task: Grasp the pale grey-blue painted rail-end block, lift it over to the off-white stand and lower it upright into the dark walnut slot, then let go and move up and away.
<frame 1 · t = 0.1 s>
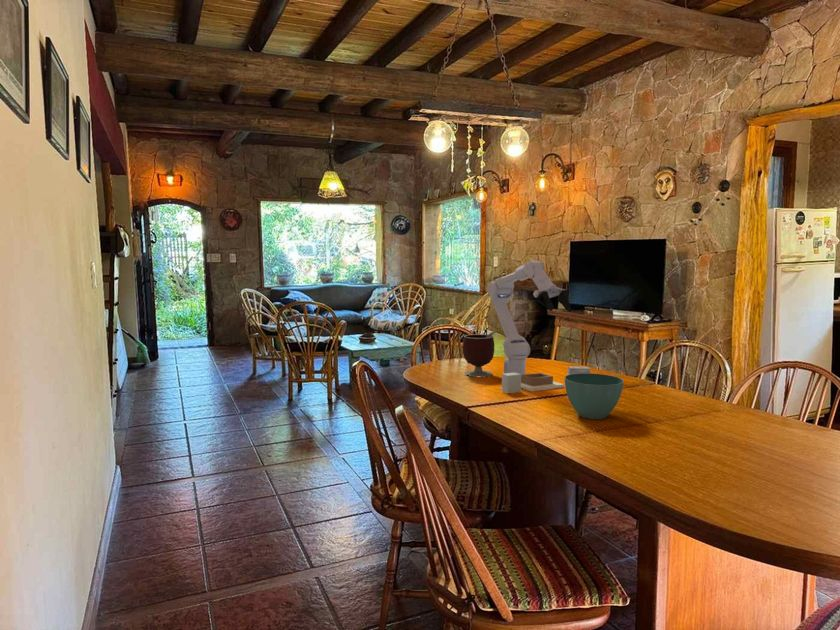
hand: (560, 308, 215), 32 cm above the table, tool tilted 50°, fingers open, 7 cm apart
teal bowl: (592, 416, 185), on the table
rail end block: (511, 392, 219), on the table
slot stand: (536, 385, 229), on the table
mate gourd: (480, 375, 253), on the table
medicine box: (578, 389, 223), on the table
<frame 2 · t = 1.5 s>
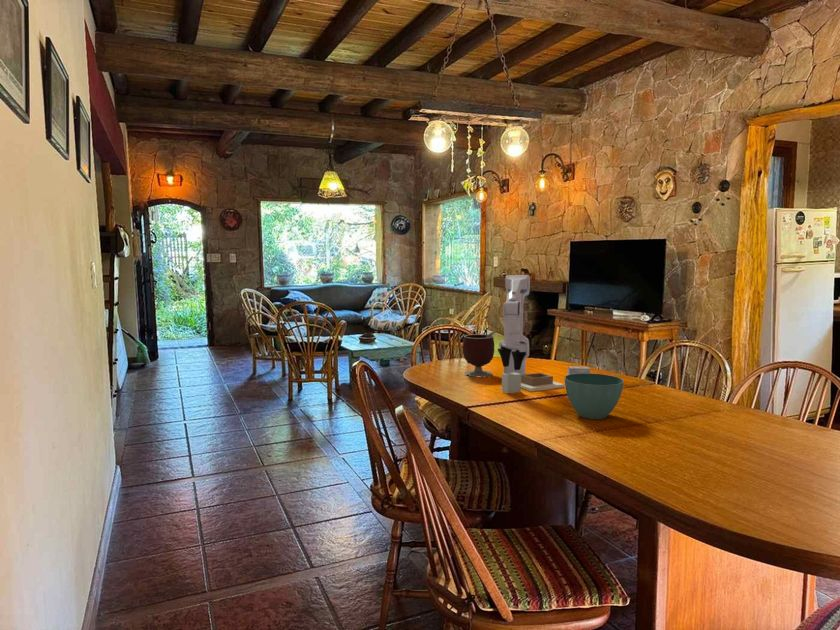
hand: (511, 368, 218), 9 cm above the table, tool pointing down, fingers open, 7 cm apart
nothing on the table moved.
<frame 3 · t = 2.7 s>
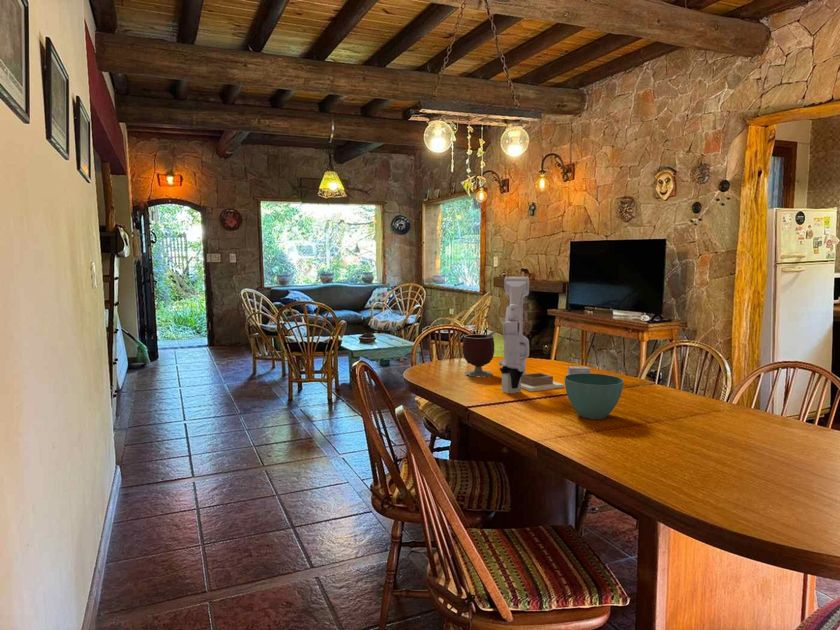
hand: (511, 386, 219), 2 cm above the table, tool pointing down, fingers closed on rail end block, 4 cm apart
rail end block: (511, 391, 219), on the table, touching gripper
everything else where it was.
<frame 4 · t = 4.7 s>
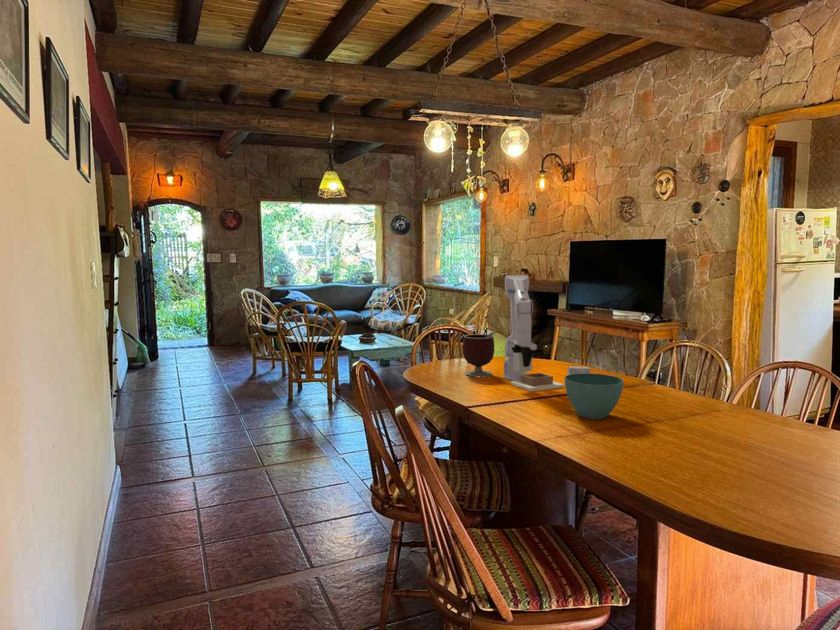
hand: (523, 365, 223), 9 cm above the table, tool pointing down, fingers closed on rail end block, 4 cm apart
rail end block: (522, 370, 223), point 7 cm above the table, touching gripper
everything else where it was.
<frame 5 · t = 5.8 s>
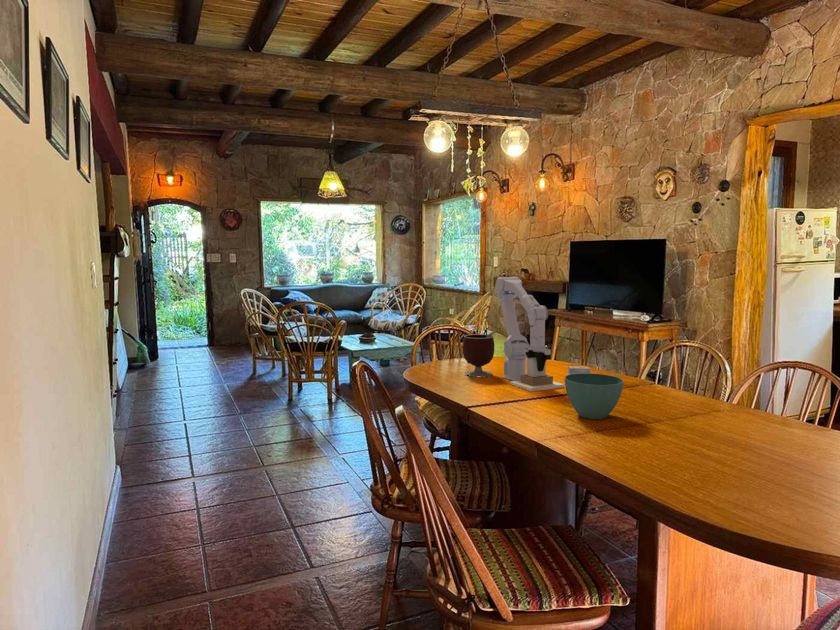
hand: (536, 370, 229), 6 cm above the table, tool pointing down, fingers closed on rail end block, 4 cm apart
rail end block: (536, 375, 229), point 4 cm above the table, touching gripper
everything else where it was.
when the fingers open (5 cm above the table, at t = 6.8 s): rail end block drops 2 cm, resting on slot stand.
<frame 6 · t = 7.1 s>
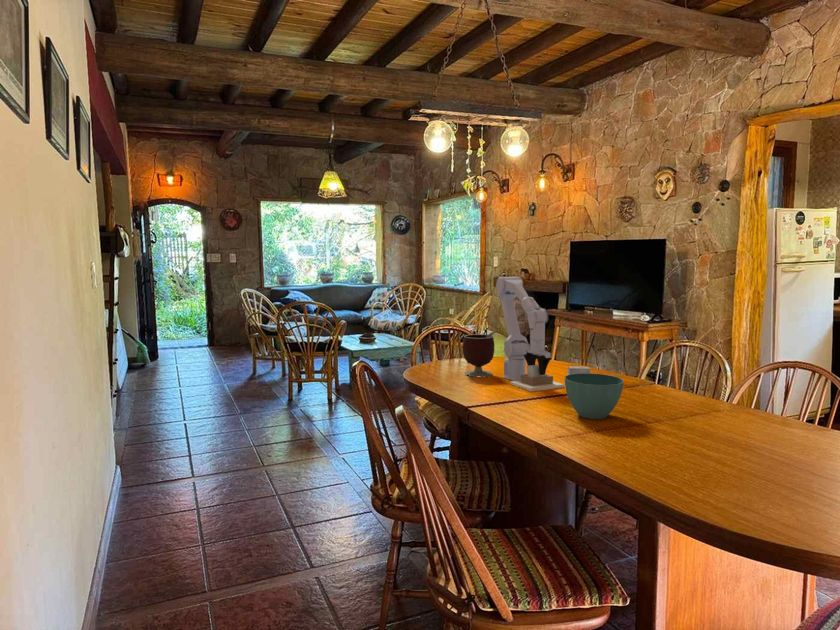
hand: (536, 373, 229), 5 cm above the table, tool pointing down, fingers open, 6 cm apart
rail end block: (536, 383, 229), point 1 cm above the table, touching slot stand
everything else where it was.
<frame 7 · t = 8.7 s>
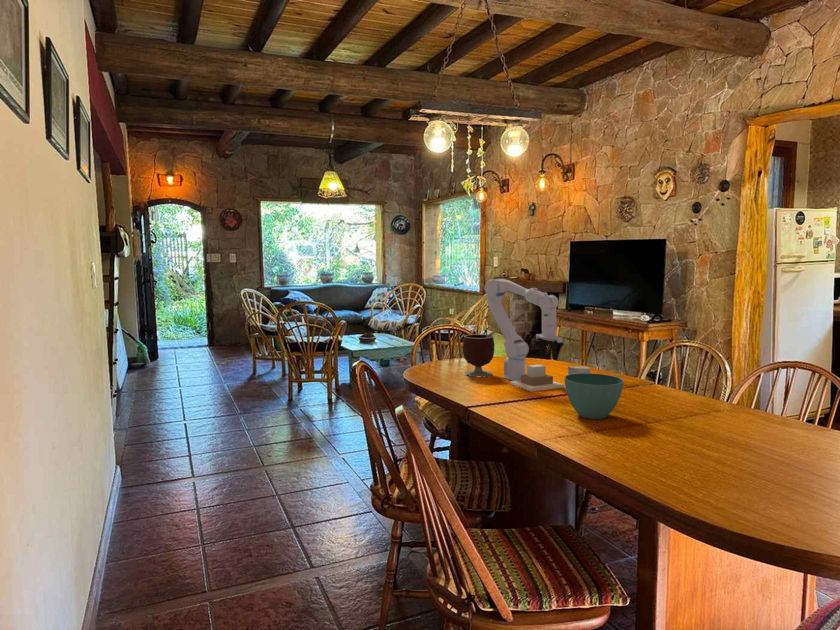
hand: (549, 358, 233), 10 cm above the table, tool pointing down, fingers open, 7 cm apart
nothing on the table moved.
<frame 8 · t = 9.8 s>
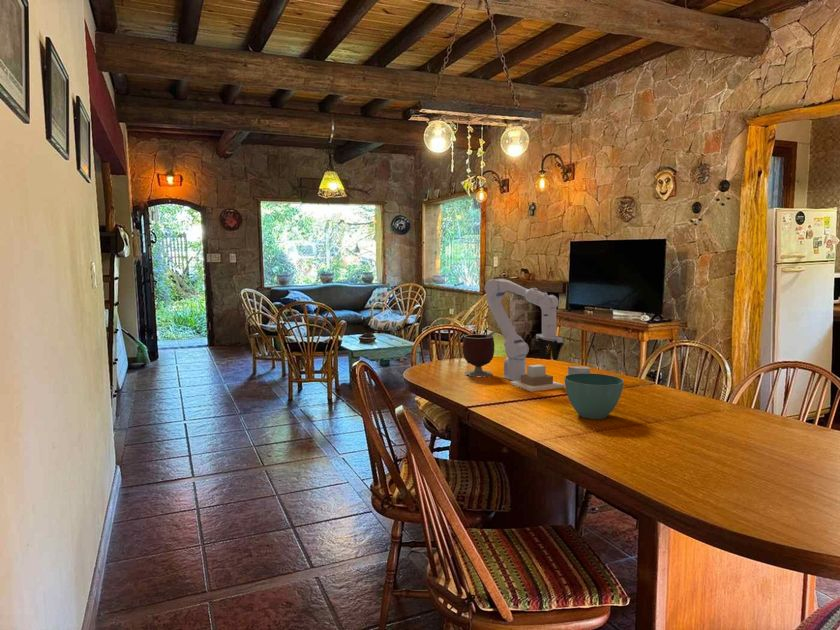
hand: (549, 358, 233), 10 cm above the table, tool pointing down, fingers open, 7 cm apart
nothing on the table moved.
at the end: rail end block 0.3 cm off-centre on the slot stand, point 1.2 cm above the slot stand's base; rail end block tilted 0°; the gripper is holding nothing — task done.
